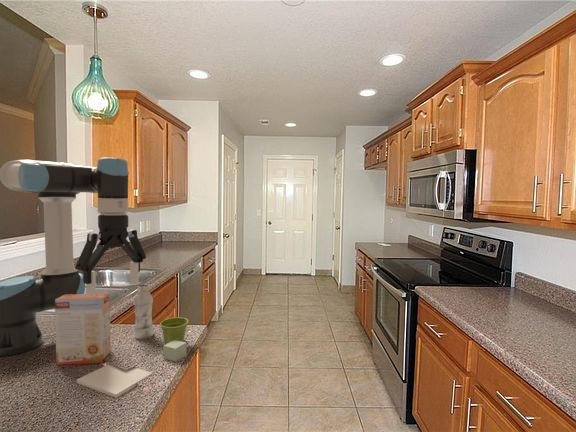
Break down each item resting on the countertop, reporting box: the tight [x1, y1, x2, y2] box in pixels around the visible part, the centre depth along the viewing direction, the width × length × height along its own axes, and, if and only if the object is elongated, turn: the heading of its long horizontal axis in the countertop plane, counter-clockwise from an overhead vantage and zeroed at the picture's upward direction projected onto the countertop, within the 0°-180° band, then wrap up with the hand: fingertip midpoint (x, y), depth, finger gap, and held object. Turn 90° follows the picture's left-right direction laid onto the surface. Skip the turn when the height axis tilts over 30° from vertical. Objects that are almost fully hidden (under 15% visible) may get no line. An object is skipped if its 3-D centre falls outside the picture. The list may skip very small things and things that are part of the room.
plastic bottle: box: [133, 284, 155, 340], centre depth 122 cm, size 6×7×20 cm
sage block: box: [162, 340, 187, 362], centre depth 108 cm, size 5×5×5 cm
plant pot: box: [159, 316, 189, 345], centre depth 117 cm, size 9×9×9 cm
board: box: [76, 363, 153, 398], centre depth 95 cm, size 16×12×1 cm
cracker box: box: [54, 293, 112, 366], centre depth 106 cm, size 14×6×21 cm, turn 96°
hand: (114, 289), depth 94 cm, fingers open, 13 cm apart
